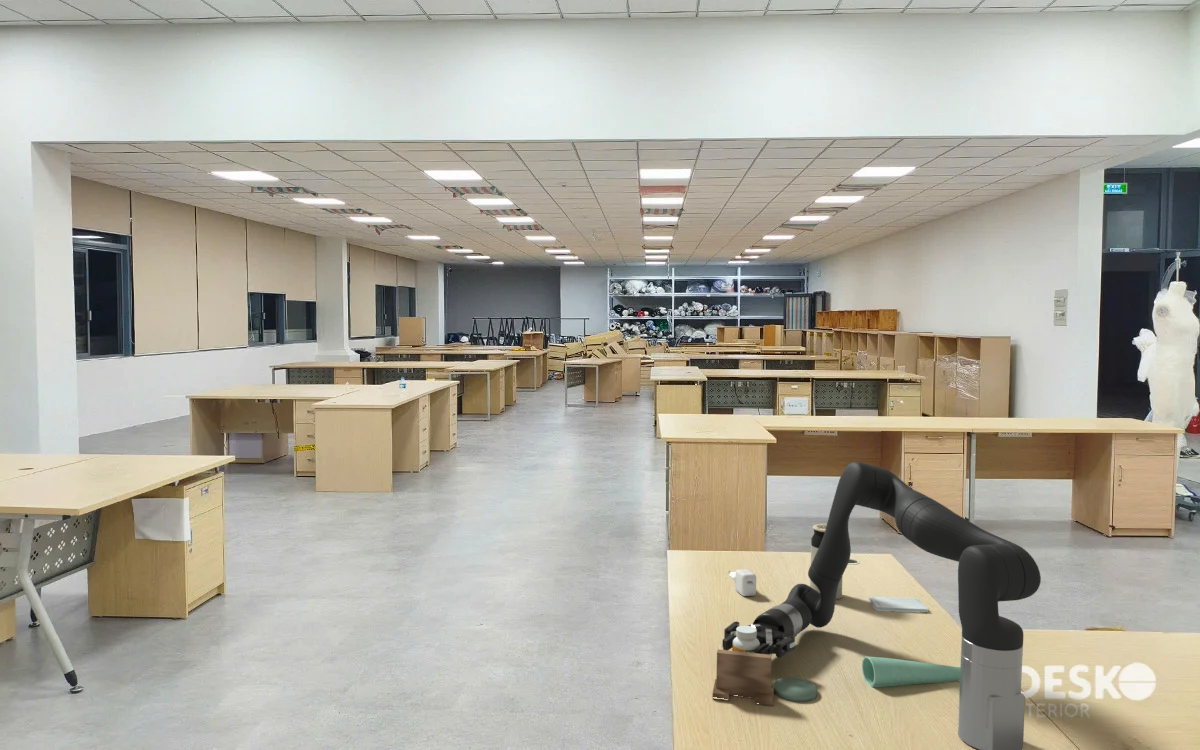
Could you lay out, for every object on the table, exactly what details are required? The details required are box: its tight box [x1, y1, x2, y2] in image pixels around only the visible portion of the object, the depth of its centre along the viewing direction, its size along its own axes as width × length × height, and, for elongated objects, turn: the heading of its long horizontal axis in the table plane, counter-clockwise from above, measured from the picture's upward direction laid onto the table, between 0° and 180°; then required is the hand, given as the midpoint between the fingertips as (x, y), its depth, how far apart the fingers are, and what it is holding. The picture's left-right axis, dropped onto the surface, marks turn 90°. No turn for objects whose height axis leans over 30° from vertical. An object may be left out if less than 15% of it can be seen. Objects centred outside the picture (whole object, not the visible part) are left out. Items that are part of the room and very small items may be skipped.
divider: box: [711, 649, 775, 707], centre depth 149 cm, size 11×6×8 cm, turn 77°
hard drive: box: [867, 595, 929, 613], centre depth 199 cm, size 2×8×12 cm
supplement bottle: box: [732, 625, 760, 653], centre depth 157 cm, size 5×5×10 cm
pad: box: [773, 676, 818, 703], centre depth 151 cm, size 8×8×1 cm
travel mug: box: [809, 523, 843, 600], centre depth 205 cm, size 8×8×18 cm
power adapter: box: [727, 568, 757, 597], centre depth 209 cm, size 11×5×6 cm, turn 13°
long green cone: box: [861, 656, 960, 688], centre depth 157 cm, size 5×6×27 cm
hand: (740, 650), depth 155 cm, fingers open, 6 cm apart
